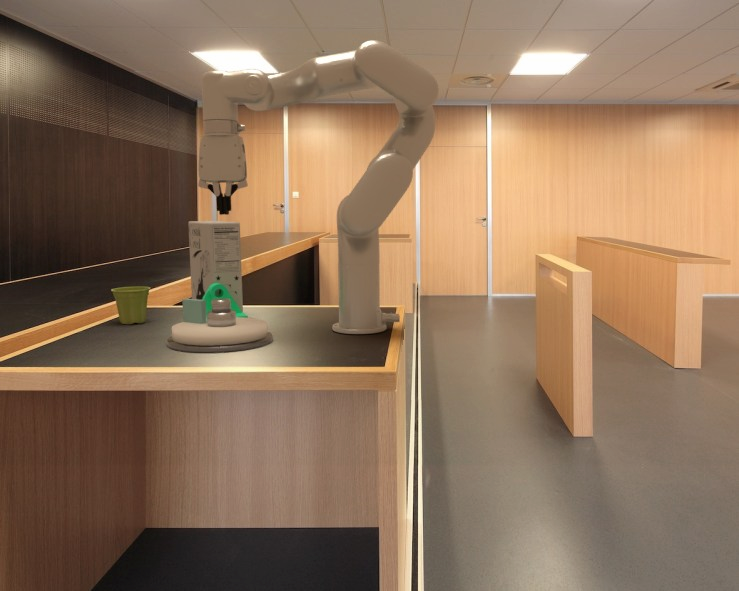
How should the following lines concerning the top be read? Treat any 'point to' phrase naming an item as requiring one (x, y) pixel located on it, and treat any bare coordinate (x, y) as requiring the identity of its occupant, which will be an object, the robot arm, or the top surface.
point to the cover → (221, 314)
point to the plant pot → (131, 304)
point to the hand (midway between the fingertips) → (224, 214)
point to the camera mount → (223, 295)
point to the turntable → (214, 328)
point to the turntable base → (220, 346)
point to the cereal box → (215, 258)
